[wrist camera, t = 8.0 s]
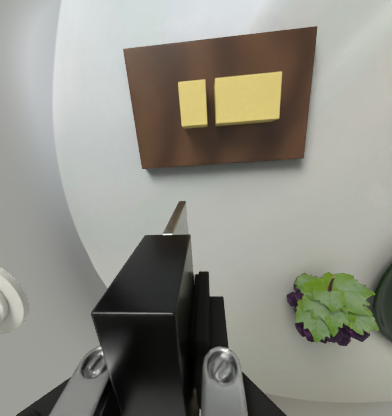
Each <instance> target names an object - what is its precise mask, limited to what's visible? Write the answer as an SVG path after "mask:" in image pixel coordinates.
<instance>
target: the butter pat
mask: <svg viewBox="0 0 392 416" xmlns="http://www.w3.org/2000/svg"><path fill="white" fill-rule="evenodd" d="M178 89H179V101H180V112H181V124H182V127H183V128H185V129H189V128H201V127H207V126H208V122H207V101H206V80H205V79H203V80H193V81H183V82H178Z"/></svg>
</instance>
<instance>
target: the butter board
mask: <svg viewBox="0 0 392 416" xmlns="http://www.w3.org/2000/svg"><path fill="white" fill-rule="evenodd" d="M316 35H317V26H316V27H308V28H299V29H291V30H282V31H274V32H265V33H256V34H248V35H239V36H231V37H222V38H214V39H205V40H196V41H188V42H179V43H171V44H162V45H154V46H145V47H136V48H128V49H123V51H124V57H125V64H126V70H127V76H128V83H129V89H130V95H131V101H132V108H133V114H134V120H135V127H136V133H137V139H138V146H139V152H140V158H141V165H142V169H147V168H162V167H177V166H192V165H207V164H222V163H237V162H252V161H267V160H282V159H297V158H304V149H305V139H306V130H307V120H308V111H309V101H310V92H311V82H312V73H313V63H314V54H315V44H316ZM272 72H282V83H281V99H280V115H279V119H277V120H274V121H271V122H262V123H250V124H238V125H226V126H215V104H214V82H215V78H222V77H232V76H242V75H252V74H262V73H272ZM203 79H205V80H206V101H207V122H208V126H207V127H201V128H189V129H185V128H183V127H182V124H181V112H180V101H179V89H178V82H183V81H193V80H203Z"/></svg>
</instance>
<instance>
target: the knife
mask: <svg viewBox="0 0 392 416" xmlns="http://www.w3.org/2000/svg"><path fill="white" fill-rule="evenodd" d="M194 292H195V291H194V277H193V263H192V249H191V236H190V234H188V222H187V209H186V201H179V203H178V204H177V206H176V208H175V210H174V212H173V214H172V216H171V218H170V220H169V222H168V224H167V226H166V228H165V230H164V232H163V234H162V235H145V236H144V237H143V239H142V240H141V242H140V243H139V245H138V246H137V247H136V249H135V250H134V252H133V253H132V255H131V256H130V258H129V259H128V260H127V262H126V263H125V265H124V266H123V268H122V269H121V270H120V272H119V273H118V275H117V276H116V278H115V279H114V280H113V282H112V283H111V285H110V286H109V288H108V289H107V291H106V292H105V293H104V295H103V296H102V298H101V299H100V301H99V302H98V303H97V305H96V306H95V308H94V309H93V311H92V313H91V316H92V319H93V322H94V326H95V329H96V332H97V336H98V339H99V342H100V346H101V349H102V353H103V356H104V359H105V363H106V366H107V369H108V373H109V376H110V379H111V383H112V386H113V389H114V392H115V396H116V399H117V402H118V406H119V409H120V412H121V416H199V409H200V408H199V406H198V405H197V397H196V389H195V388H194V377H193V366H192V355H191V325H192V314H193V303H194Z"/></svg>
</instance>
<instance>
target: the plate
mask: <svg viewBox="0 0 392 416" xmlns="http://www.w3.org/2000/svg"><path fill="white" fill-rule="evenodd" d="M373 313H374V318H375V321H376V323H377V326H378V328H379V329H380V331H381V332H382V334H383V335H384V336H385V337H386V338H387V339H389V340H390V341H391V342H392V264H391V265H390V267H389V268H388V269H387V271H386V272H385V274H384V275H383V277H382V279H381V280H380V282H379V285H378V287H377V290H376V293H375V296H374V302H373Z"/></svg>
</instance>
